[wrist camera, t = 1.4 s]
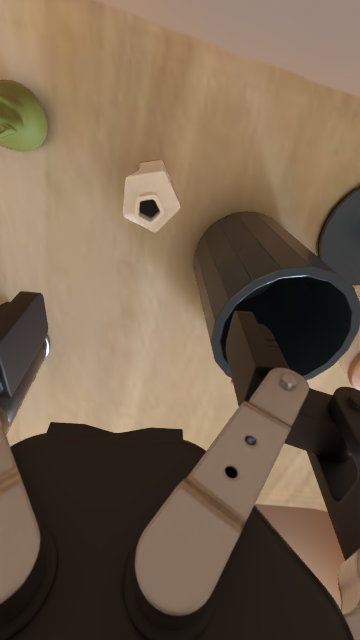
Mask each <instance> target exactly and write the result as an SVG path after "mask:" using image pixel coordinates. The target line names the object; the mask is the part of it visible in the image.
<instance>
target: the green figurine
mask: <svg viewBox="0 0 360 640" xmlns="http://www.w3.org/2000/svg"><path fill="white" fill-rule="evenodd" d="M47 131H48V124H47V118H46V115H45V112H44V109H43V107H42V105H41V104H40V102H39V100H38V99H37V98H36V96H35V95H34V94H33V93H32V92H31V91H30V90H29V89H28V88H26V87H25V86H23V85H22V84H20V83H18V82H15V81H11V80H0V145H1V146H3V147H6V148H8V149H11V150H14V151H21V152H24V151H30V150H33V149H35V148H37V147H39V146H40V145H41V144H42V143H43V141H44V140H45V138H46V135H47Z"/></svg>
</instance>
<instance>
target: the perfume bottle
mask: <svg viewBox="0 0 360 640" xmlns="http://www.w3.org/2000/svg"><path fill="white" fill-rule="evenodd" d="M179 209H180V204H179V202H178V199H177V197H176V195H175V193H174V191H173V188H172V186H171V179H170V176H169V174H168V172H167V170H166V168H165V165H164V163H163V161H162V160H157V161H150V162H143V163H140V165H139V170H138V171H136V172H135V173H133V174H131V175H129V176H128V177H127V178H126V180H125V192H124V204H123V216H124V217H125V218H127V219H129V220H131V221H133V222H135V223H137V224H138V225H140V226H142V227H144V228H146V229H148V230H150V231H152V232H157V231H158V230H159V229H160V228H161V227H162V226H163V225H164V224H165V223H166V222H167V221H168V220H169V219H170V218H171V217H172V216H173V215H174V214H175V213H176V212H177V211H178V210H179Z"/></svg>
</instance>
